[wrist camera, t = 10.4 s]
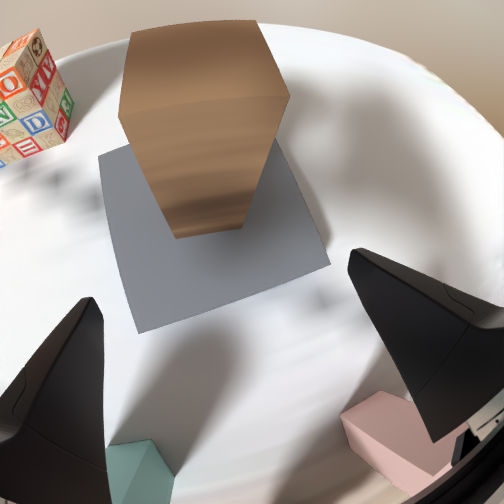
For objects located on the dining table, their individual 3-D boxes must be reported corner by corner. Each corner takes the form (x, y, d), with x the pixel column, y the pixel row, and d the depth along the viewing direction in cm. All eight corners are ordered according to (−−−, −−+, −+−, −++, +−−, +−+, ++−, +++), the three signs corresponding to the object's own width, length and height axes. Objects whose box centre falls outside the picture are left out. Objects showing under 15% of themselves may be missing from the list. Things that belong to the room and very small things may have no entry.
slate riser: (316, 270, 22) (331, 264, 19) (149, 330, 19) (138, 334, 16) (255, 129, 24) (260, 109, 21) (109, 173, 21) (98, 156, 18)
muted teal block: (174, 477, 16) (156, 577, 4) (132, 483, 15) (93, 570, 3) (151, 439, 17) (106, 536, 5) (107, 445, 16) (45, 525, 4)
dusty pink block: (388, 424, 20) (479, 467, 8) (350, 448, 19) (432, 512, 7) (380, 389, 20) (484, 425, 8) (339, 414, 19) (433, 476, 7)
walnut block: (241, 228, 18) (290, 96, 6) (175, 239, 18) (118, 116, 6) (230, 170, 19) (255, 20, 7) (168, 179, 18) (131, 32, 6)
